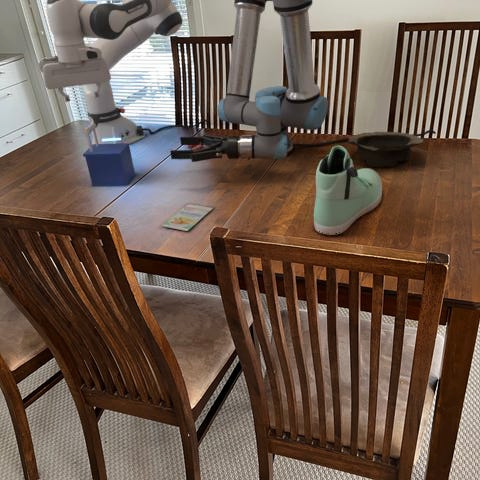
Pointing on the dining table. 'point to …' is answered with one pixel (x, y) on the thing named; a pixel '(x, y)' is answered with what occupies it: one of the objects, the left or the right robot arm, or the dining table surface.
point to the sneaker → (343, 192)
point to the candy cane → (195, 147)
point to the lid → (102, 146)
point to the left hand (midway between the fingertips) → (82, 99)
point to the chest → (111, 169)
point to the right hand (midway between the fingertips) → (175, 147)
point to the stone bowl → (384, 147)
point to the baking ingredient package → (187, 217)
